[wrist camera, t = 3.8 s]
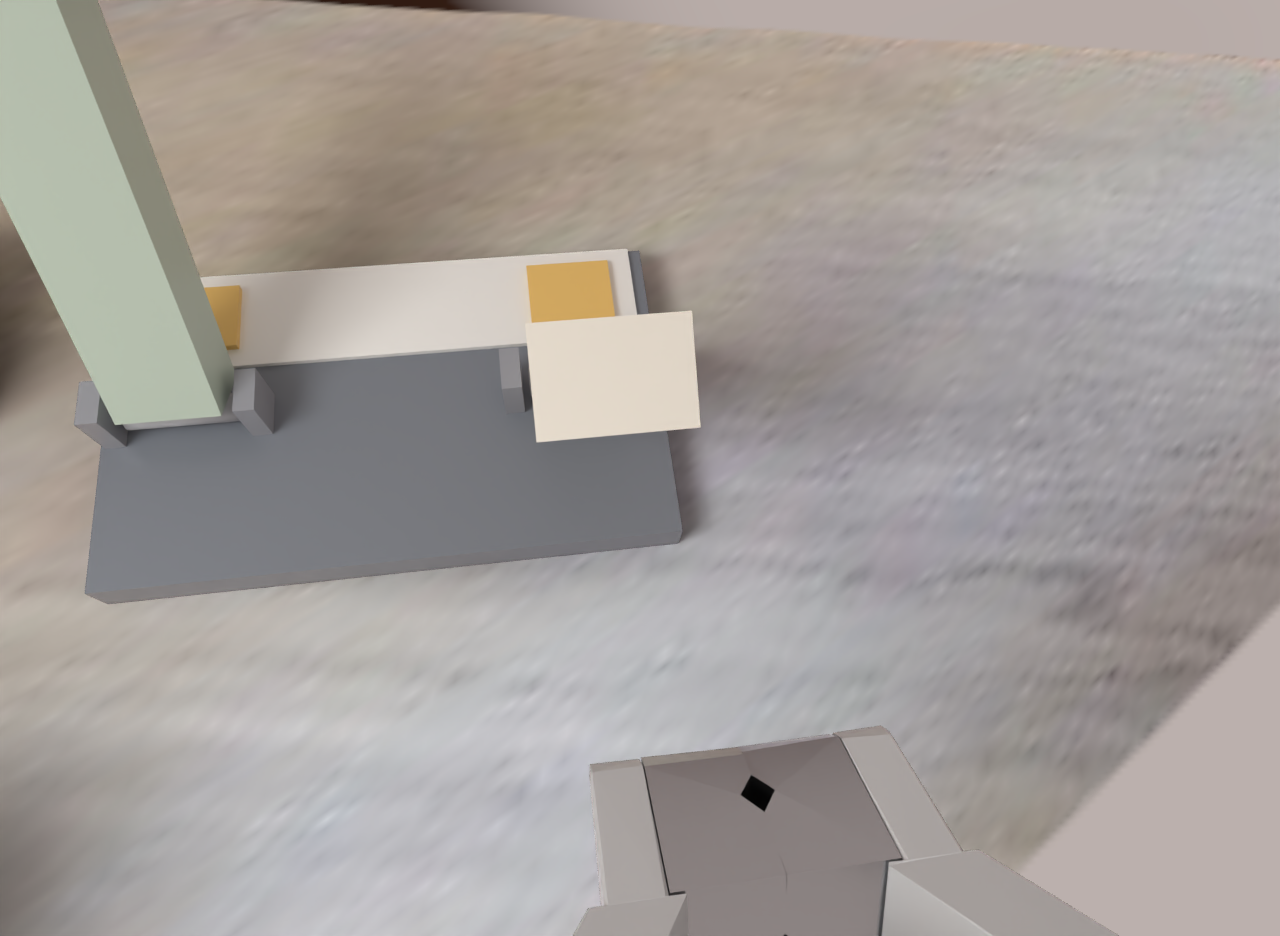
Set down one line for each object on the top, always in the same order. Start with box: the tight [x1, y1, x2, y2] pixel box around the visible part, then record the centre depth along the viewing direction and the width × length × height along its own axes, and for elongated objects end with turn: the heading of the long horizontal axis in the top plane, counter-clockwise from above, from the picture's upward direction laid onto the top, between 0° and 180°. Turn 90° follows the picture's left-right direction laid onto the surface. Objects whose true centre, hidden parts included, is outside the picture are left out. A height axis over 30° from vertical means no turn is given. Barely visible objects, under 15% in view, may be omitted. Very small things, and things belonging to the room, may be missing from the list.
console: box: [74, 249, 683, 604], centre depth 31 cm, size 12×20×4 cm, turn 97°
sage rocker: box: [0, 0, 240, 430], centre depth 25 cm, size 2×4×15 cm, turn 100°
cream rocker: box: [525, 311, 701, 442], centre depth 25 cm, size 2×4×15 cm
